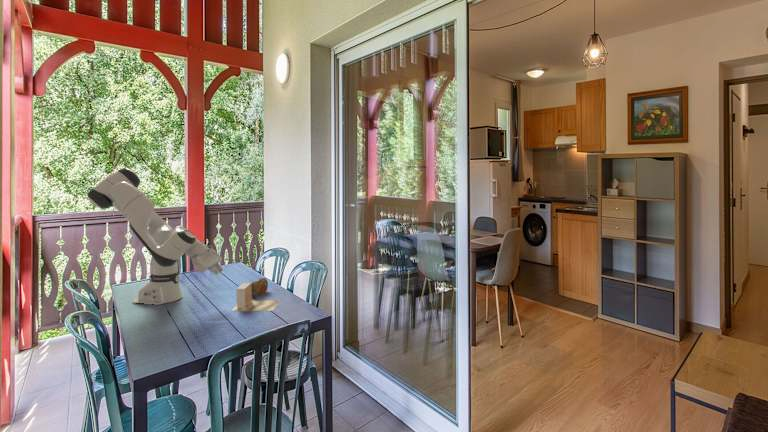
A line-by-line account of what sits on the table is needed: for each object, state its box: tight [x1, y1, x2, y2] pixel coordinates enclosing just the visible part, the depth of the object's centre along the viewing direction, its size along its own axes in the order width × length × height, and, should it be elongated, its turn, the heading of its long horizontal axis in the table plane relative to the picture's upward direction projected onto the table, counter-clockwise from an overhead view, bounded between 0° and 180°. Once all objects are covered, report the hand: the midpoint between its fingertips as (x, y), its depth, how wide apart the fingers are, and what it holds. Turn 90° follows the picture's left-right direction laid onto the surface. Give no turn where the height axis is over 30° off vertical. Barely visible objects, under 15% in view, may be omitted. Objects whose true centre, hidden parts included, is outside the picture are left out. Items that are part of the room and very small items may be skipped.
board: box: [230, 299, 281, 312], centre depth 187 cm, size 20×15×1 cm
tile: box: [236, 282, 253, 309], centre depth 187 cm, size 4×10×10 cm, turn 3°
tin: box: [251, 277, 269, 298], centre depth 205 cm, size 15×3×8 cm, turn 168°
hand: (220, 272), depth 185 cm, fingers open, 3 cm apart
